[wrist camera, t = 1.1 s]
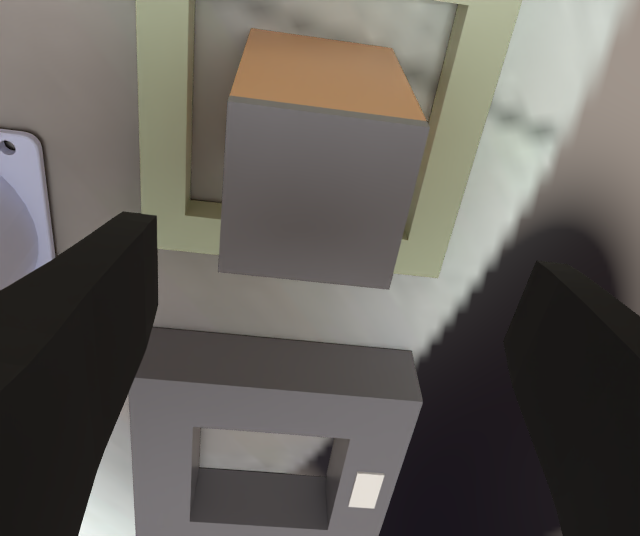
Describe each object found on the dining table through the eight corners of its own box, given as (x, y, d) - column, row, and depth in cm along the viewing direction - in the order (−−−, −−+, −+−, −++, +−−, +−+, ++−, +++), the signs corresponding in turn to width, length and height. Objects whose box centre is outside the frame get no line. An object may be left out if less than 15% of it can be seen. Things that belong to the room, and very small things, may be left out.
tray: (149, 230, 23) (142, 246, 22) (142, -111, 17) (132, -109, 16) (432, 260, 24) (438, 278, 23) (522, -50, 18) (535, -45, 17)
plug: (241, 160, 21) (217, 272, 15) (250, 28, 19) (227, 101, 13) (366, 175, 22) (389, 289, 16) (392, 48, 19) (430, 127, 13)
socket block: (149, 494, 32) (136, 550, 29) (145, 326, 25) (127, 378, 23) (364, 509, 33) (369, 564, 30) (411, 351, 26) (423, 403, 24)
